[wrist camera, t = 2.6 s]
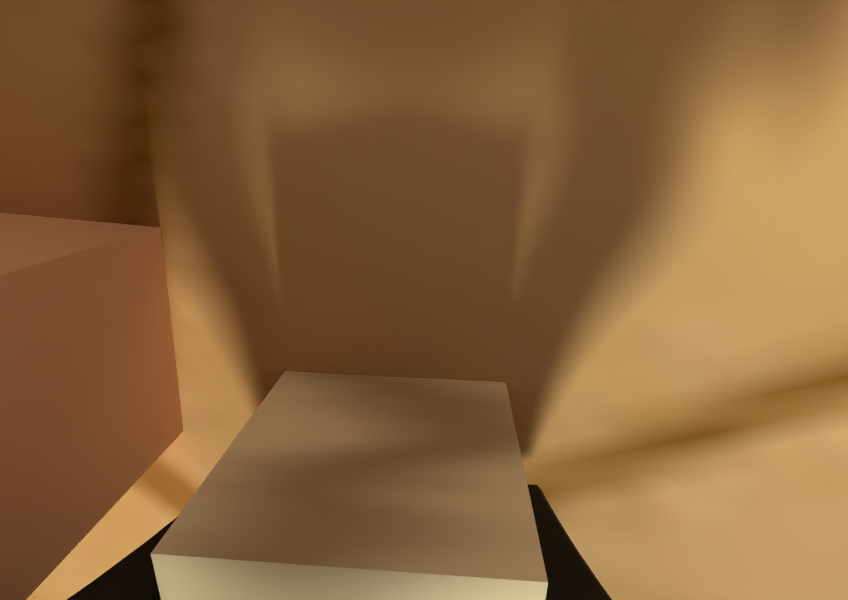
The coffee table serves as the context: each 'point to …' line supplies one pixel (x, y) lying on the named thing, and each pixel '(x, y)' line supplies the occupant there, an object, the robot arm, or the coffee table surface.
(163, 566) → the birch block
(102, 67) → the coffee table surface
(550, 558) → the robot arm
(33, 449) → the terracotta block
